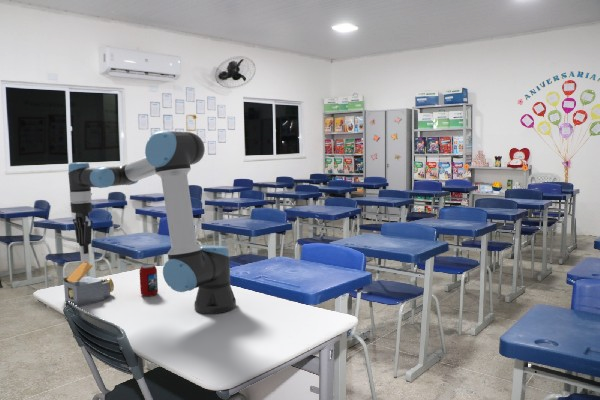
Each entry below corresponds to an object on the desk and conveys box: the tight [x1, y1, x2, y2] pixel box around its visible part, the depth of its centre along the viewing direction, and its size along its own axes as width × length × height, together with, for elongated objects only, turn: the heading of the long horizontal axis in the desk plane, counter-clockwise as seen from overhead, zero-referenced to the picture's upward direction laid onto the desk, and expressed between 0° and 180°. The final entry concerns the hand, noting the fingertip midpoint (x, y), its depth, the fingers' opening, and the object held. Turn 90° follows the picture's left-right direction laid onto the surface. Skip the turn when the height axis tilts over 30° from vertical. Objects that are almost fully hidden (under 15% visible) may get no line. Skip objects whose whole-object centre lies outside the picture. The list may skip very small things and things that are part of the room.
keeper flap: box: [66, 262, 94, 283], centre depth 190 cm, size 8×9×1 cm
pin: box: [69, 277, 115, 298], centre depth 194 cm, size 16×6×6 cm, turn 137°
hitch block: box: [62, 275, 111, 307], centre depth 193 cm, size 12×14×10 cm
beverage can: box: [139, 263, 159, 297], centre depth 198 cm, size 7×7×12 cm
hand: (85, 261), depth 192 cm, fingers closed
